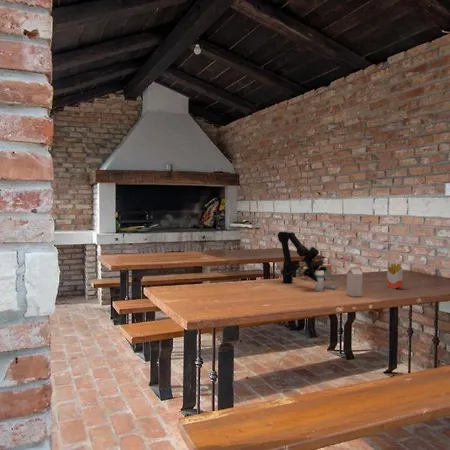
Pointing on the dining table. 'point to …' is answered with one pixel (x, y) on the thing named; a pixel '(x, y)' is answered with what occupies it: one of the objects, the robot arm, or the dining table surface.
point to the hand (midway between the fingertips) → (320, 280)
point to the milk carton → (354, 282)
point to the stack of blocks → (326, 274)
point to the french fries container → (394, 276)
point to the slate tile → (330, 287)
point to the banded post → (319, 280)
